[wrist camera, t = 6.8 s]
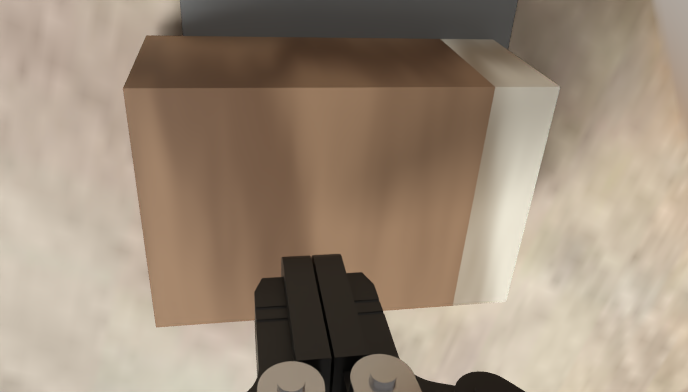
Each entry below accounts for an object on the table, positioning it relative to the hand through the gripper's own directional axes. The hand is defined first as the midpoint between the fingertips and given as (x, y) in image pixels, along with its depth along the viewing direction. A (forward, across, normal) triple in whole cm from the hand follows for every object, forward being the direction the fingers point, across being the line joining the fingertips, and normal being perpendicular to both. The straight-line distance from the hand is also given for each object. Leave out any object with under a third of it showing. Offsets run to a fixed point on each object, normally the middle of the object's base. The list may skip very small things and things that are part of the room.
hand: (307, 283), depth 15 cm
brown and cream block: (+6, +4, 0) cm, 7 cm away
